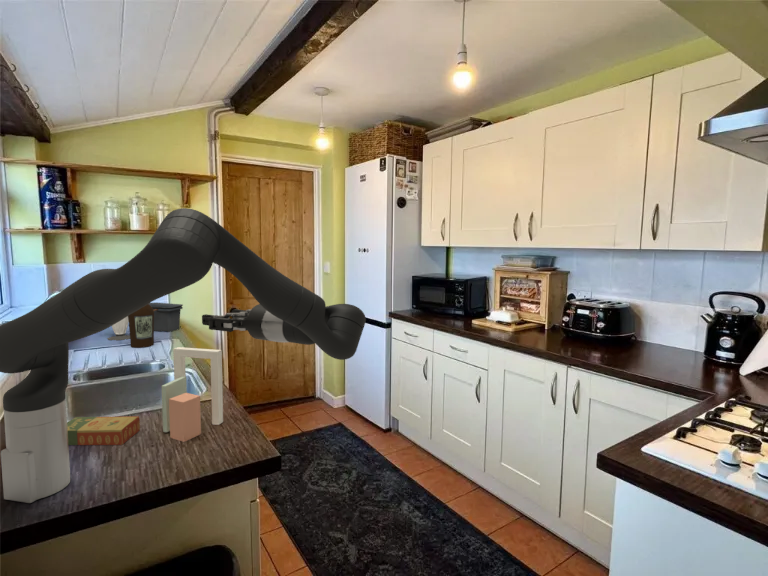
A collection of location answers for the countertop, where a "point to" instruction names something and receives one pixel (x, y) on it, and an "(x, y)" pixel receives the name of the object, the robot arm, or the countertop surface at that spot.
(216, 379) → the door frame
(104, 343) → the countertop surface
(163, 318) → the storage bin
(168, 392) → the door
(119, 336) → the cup
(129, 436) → the carton
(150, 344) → the olive oil
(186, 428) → the block
